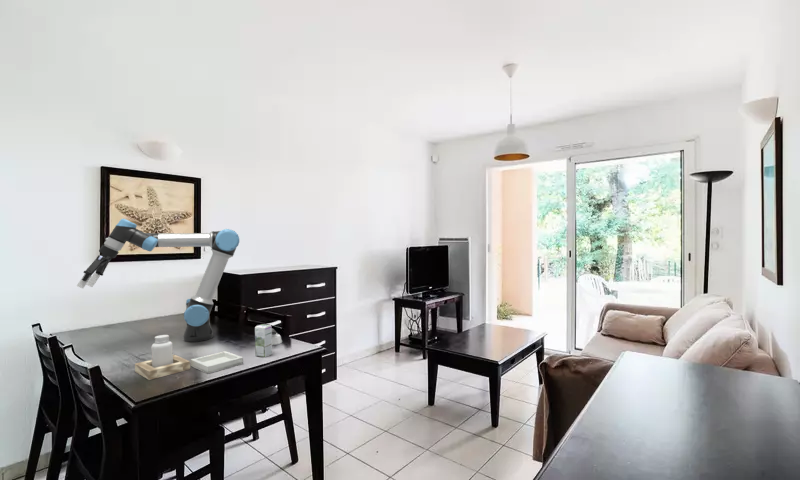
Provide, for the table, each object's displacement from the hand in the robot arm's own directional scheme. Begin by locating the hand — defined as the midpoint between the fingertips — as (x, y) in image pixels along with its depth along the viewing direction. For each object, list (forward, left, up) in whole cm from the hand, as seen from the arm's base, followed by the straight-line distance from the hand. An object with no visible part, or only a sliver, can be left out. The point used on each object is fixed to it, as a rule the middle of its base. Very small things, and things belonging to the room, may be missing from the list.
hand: (84, 286), depth 190 cm
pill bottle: (-15, +50, -35) cm, 62 cm away
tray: (-33, +62, -34) cm, 78 cm away
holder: (-15, +50, -34) cm, 62 cm away
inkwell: (-67, +54, -35) cm, 93 cm away
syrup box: (-54, +66, -35) cm, 92 cm away
